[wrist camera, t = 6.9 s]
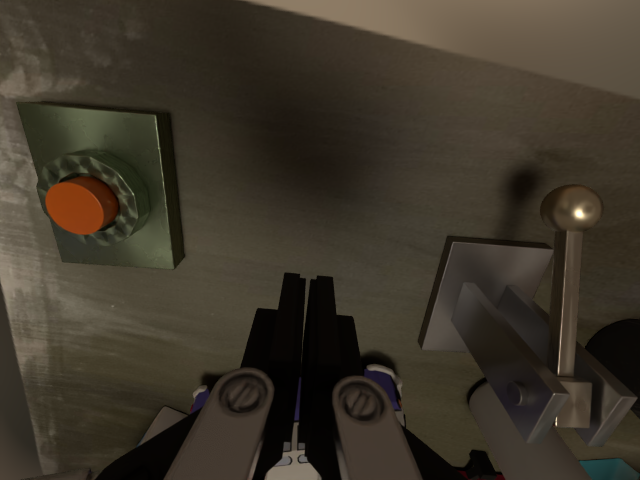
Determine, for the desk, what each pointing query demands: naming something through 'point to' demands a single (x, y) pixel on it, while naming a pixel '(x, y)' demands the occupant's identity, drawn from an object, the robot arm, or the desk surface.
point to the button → (81, 205)
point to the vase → (609, 470)
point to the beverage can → (522, 444)
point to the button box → (111, 179)
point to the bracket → (513, 335)
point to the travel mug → (620, 354)
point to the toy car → (293, 469)
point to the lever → (568, 292)
